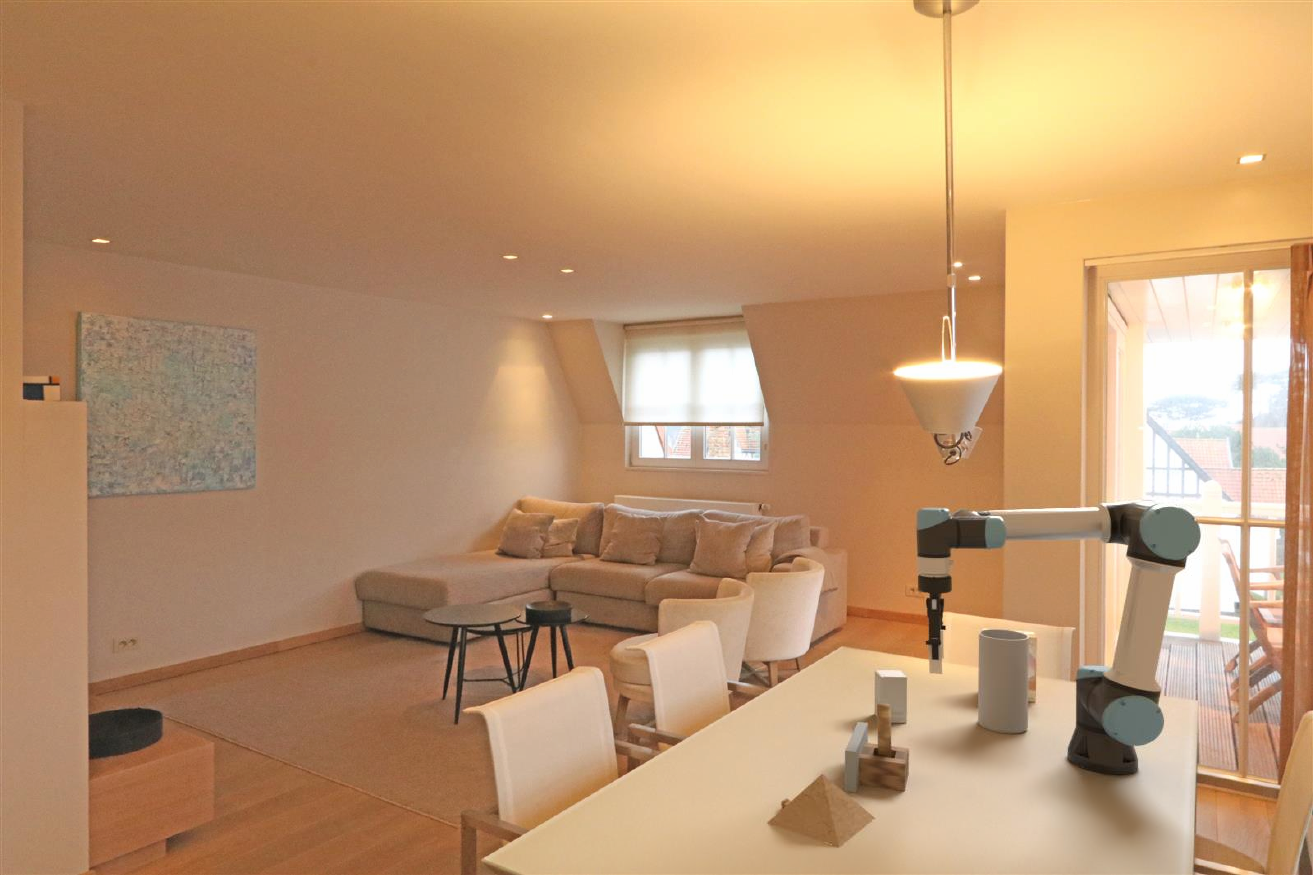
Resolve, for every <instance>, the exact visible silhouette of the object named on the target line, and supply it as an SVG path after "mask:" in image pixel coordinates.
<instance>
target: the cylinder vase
mask: <svg viewBox="0 0 1313 875" xmlns="http://www.w3.org/2000/svg"><path fill="white" fill-rule="evenodd" d="M985 629H986V630H982V629H981V630H979V631H978V677H977V678H978V682H977V683H978V688H977V689H978V693H977V697H978V699H977V702H978V703H977V706H978V707H977V722H978V724H979V725H980V726H981V727H982V728H983V729H986V730H988V731H990V732H995V733H1000V734H1008V735H1010V734H1011V735H1014V734H1021V733H1024V732H1026V731H1027V730H1028V728H1029V701H1028V667H1029V636H1028V635H1026V634H1024V633H1021V632H1017V631H1018V630H1010V629H1001V628H1000V629H998V628H985Z"/></svg>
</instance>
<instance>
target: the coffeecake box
mask: <svg viewBox="0 0 1313 875" xmlns="http://www.w3.org/2000/svg"><path fill="white" fill-rule="evenodd" d="M986 629H987V628H981V630H986ZM1016 631H1017V632H1021V633H1024V634H1026V635H1028V636H1029V667H1028V702H1031V703H1033V702H1034V703H1036V702H1037V701H1036V700H1037V657H1038V656H1037V653H1038V652H1037V651H1038V650H1037V649H1038V648H1037V647H1038V645H1037V644H1038V643H1037V642H1038V641H1037V638H1038V637H1037V636H1036V633H1035V632H1034V631H1023V630H1022V631H1021V630H1016Z"/></svg>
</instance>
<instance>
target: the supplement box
mask: <svg viewBox="0 0 1313 875" xmlns="http://www.w3.org/2000/svg"><path fill="white" fill-rule="evenodd" d="M878 703H888V704H890V705H891V724H892V723H893V724H906V723H907V722H908V719H907V718H908V716H907V714H908V711H907V710H908V677H907V676H906V675H905V674H904V673H903V672H902V670H900V669H897V670H896V669H889V670H887V669H883V670H882V669H879V670H878V669H877V670H876V669H875V670H874V710H873V711H874V715H875V717H876V718H877V704H878Z"/></svg>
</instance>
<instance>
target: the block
mask: <svg viewBox="0 0 1313 875" xmlns="http://www.w3.org/2000/svg"><path fill="white" fill-rule="evenodd" d="M891 752H892V758H888V757H881V756H878V743H871V742H868V743H865V744H864V746H863V749H862V751H861V754H860V757H859V785H862V786H870V787H877V788H882V787H883V789H888V790H896V791H901V792H902V791H903V792H905V791H906V788H907V783H908V779H909V770H910V769H909V767H910V766H909V765H910V761H909V760H910V748H909V747H901V746H900V747H899V746H893V745H891Z"/></svg>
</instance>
